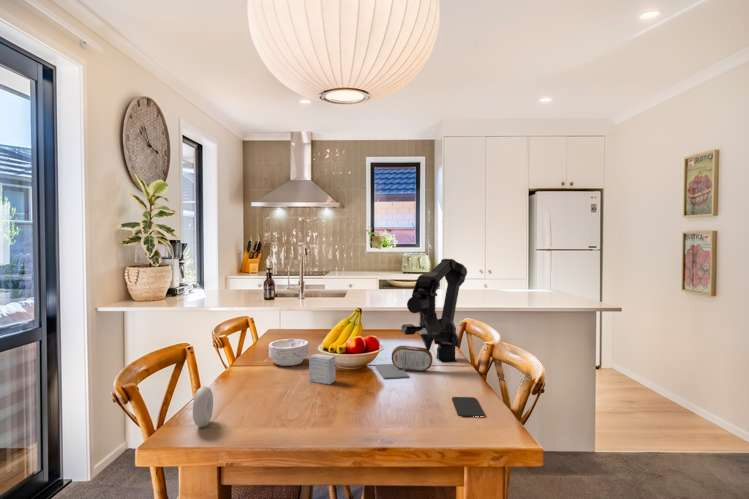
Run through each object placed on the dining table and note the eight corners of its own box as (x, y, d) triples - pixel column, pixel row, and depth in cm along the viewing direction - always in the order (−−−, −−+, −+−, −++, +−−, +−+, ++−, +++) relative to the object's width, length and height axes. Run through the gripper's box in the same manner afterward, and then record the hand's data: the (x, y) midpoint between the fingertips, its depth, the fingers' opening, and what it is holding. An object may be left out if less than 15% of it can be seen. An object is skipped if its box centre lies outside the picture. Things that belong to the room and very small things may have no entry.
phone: (475, 397, 140) (485, 415, 125) (475, 399, 140) (485, 418, 125) (451, 396, 140) (458, 415, 125) (451, 399, 140) (458, 418, 125)
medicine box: (335, 381, 155) (335, 356, 155) (329, 385, 151) (329, 359, 151) (315, 378, 158) (315, 353, 158) (308, 381, 154) (308, 356, 154)
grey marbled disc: (201, 418, 123) (201, 381, 123) (214, 417, 123) (214, 380, 123) (190, 434, 113) (190, 394, 113) (205, 433, 113) (205, 393, 113)
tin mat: (397, 365, 175) (397, 363, 175) (408, 377, 159) (408, 376, 159) (374, 366, 173) (374, 364, 173) (383, 379, 158) (383, 377, 158)
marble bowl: (260, 365, 173) (260, 345, 173) (283, 356, 187) (283, 337, 187) (295, 370, 167) (295, 349, 167) (315, 360, 181) (315, 340, 181)
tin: (431, 370, 169) (433, 347, 168) (431, 373, 166) (433, 350, 165) (390, 366, 170) (392, 343, 170) (390, 368, 167) (392, 346, 166)
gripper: (409, 314, 159) (409, 358, 159) (459, 311, 162) (460, 355, 163) (400, 309, 170) (401, 351, 170) (448, 307, 173) (448, 348, 174)
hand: (427, 351), depth 169 cm, fingers closed
